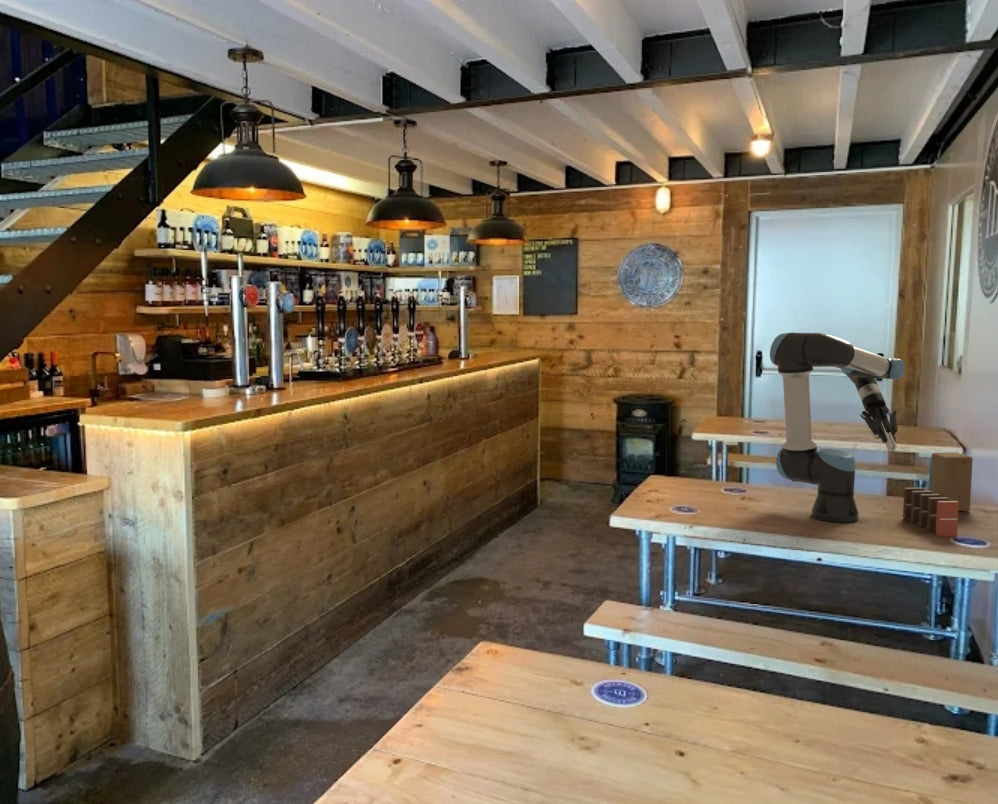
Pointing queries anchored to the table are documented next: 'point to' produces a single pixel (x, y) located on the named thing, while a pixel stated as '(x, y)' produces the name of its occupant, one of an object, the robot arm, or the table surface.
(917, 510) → the tile
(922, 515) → the tile
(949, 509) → the end tile
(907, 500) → the tile
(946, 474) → the wooden block
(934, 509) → the tile
